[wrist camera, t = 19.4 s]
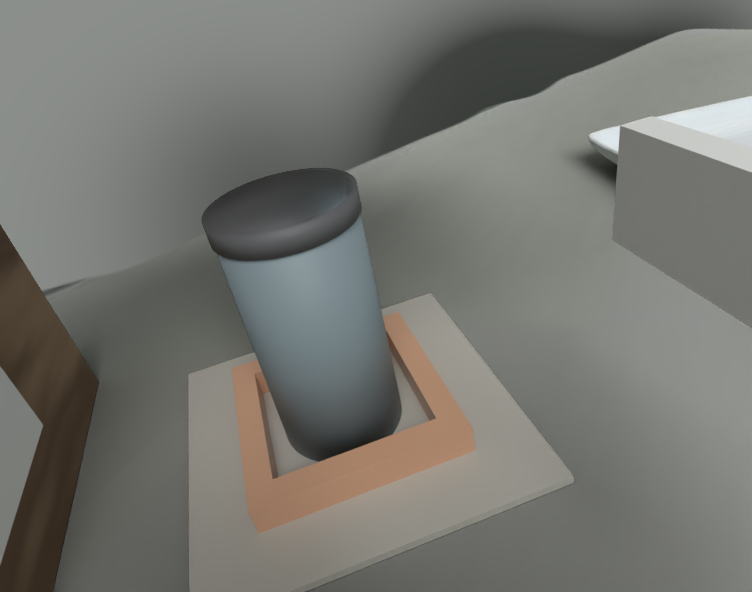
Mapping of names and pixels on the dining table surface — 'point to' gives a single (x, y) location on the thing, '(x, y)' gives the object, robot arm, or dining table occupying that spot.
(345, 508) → the seat collar
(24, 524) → the shelf
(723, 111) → the salad plate
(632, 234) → the robot arm
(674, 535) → the dining table surface
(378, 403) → the canister
